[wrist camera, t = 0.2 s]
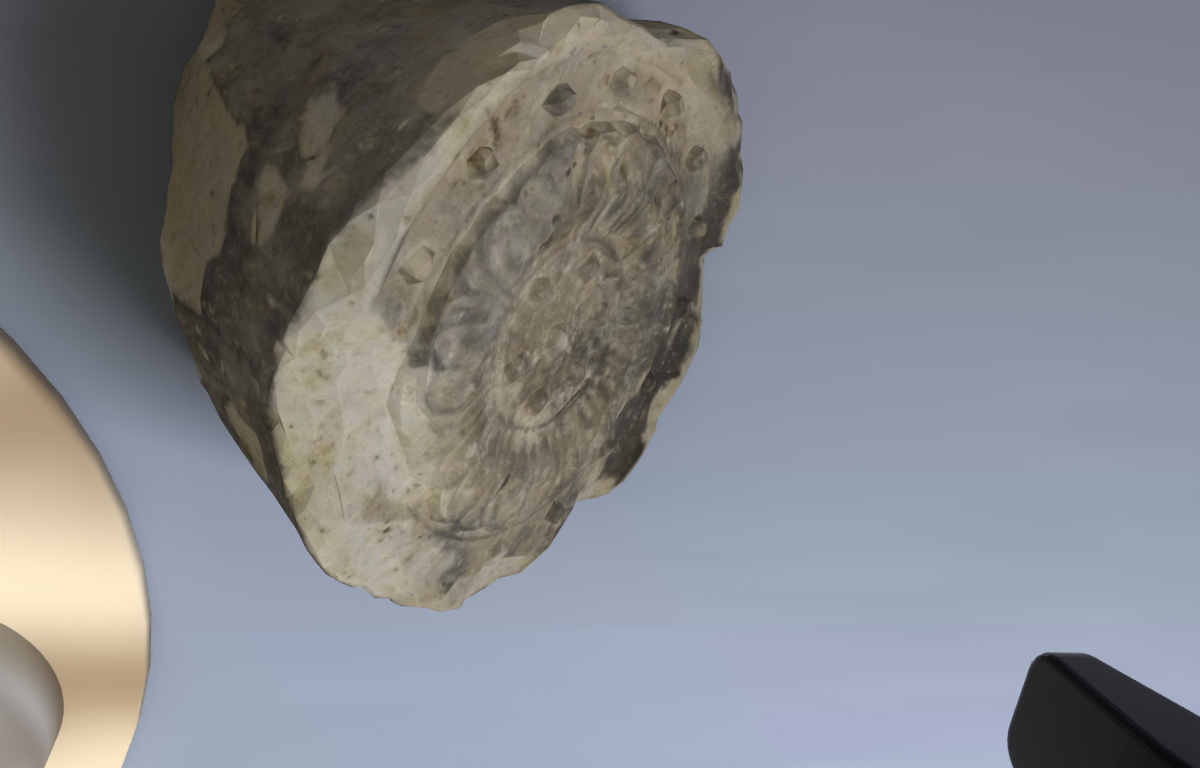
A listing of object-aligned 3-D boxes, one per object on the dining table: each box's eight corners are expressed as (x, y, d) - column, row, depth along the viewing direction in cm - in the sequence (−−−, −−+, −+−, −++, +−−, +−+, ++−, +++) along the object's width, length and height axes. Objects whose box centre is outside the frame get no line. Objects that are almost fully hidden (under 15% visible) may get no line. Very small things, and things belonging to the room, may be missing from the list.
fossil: (761, 449, 25) (613, 797, 16) (393, 409, 28) (110, 684, 19) (753, -86, 20) (532, 23, 11) (305, -63, 23) (-127, 37, 14)
